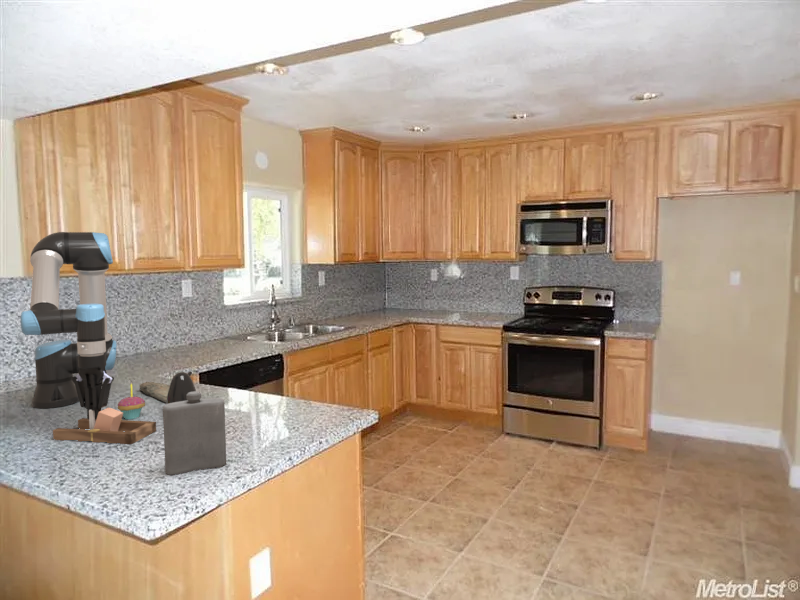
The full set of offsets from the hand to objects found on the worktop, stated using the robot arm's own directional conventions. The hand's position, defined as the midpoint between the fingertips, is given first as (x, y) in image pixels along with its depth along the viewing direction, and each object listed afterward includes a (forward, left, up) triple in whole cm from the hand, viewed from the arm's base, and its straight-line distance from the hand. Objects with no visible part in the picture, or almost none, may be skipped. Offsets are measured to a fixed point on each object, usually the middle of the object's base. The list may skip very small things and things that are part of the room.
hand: (94, 429), depth 164 cm
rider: (-1, +3, -1) cm, 3 cm away
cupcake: (-19, -1, -2) cm, 19 cm away
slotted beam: (-1, +3, -2) cm, 4 cm away
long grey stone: (-45, -6, -3) cm, 46 cm away
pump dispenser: (-24, +15, -2) cm, 28 cm away
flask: (+18, +44, -2) cm, 48 cm away
